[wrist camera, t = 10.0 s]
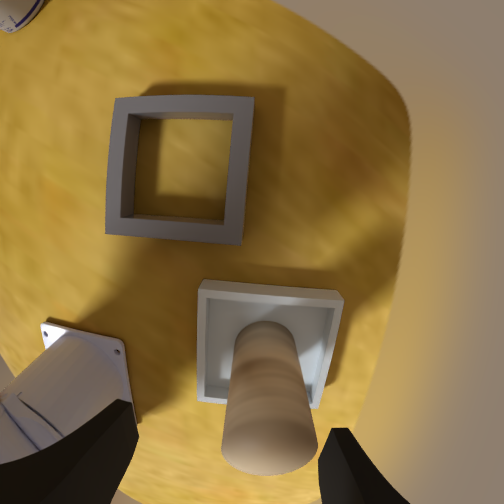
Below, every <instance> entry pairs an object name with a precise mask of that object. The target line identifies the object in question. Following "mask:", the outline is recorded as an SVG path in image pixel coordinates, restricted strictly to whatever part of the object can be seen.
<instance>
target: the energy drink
mask: <svg viewBox="0 0 504 504" xmlns="http://www.w3.org/2000/svg"><path fill="white" fill-rule="evenodd" d="M43 3H44V0H0V29H1V30H3V31H5V32H8V33H12V32H15V31H18V30H19V29H21V28H23V27H24V26H25V25H27V24H28V23H29V22H30V21H31V20H32V19H33V18H34V16H35V15H36V14H37V13H38V11H39V10H40V8H41V6H42V4H43Z"/></svg>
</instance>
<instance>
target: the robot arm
mask: <svg viewBox="0 0 504 504" xmlns="http://www.w3.org/2000/svg"><path fill="white" fill-rule="evenodd" d="M41 331H42V335H43V340H44V344H45V348H46V350H45V351H44V352H43V353H42V354H41V355H40V356H39V357H37V358H36V359H35V360H34V361H33V362H32V363H31V364H30V365H29V366H28V367H27V368H26V369H25V370H24V371H22V372H21V373H20V374H19V375H18V376H17V377H16V378H15V379H14V380H13V381H12V382H11V383H10V384H9V385H8V386H7V387H6V388H5V389H4V390H3V391H2V392H1V393H0V504H110V503H111V501H112V498H113V496H114V494H115V492H116V490H117V488H118V486H119V484H120V482H121V480H122V478H123V476H124V474H125V472H126V470H127V468H128V466H129V464H130V462H131V459H132V457H133V454H134V451H135V448H136V445H137V442H138V439H139V434H138V430H137V421H136V416H135V411H134V405H133V400H132V394H131V389H130V383H129V376H128V370H127V363H126V355H125V347H124V343H123V342H122V341H121V340H120V339H117V338H112V337H107V336H102V335H98V334H93V333H89V332H85V331H80V330H76V329H72V328H68V327H64V326H60V325H56V324H53V323H49V322H43V323H42V324H41ZM46 332H47V333H48V334H47V333H46ZM116 349H117V350H119V351H120V353H119V352H118V351H117V350H116ZM318 474H319V487H320V493H321V499H322V504H410V503H409V502H408V501H407V500H406V499H404V498H403V497H402V496H401V495H400V494H399V493H398V492H397V491H396V490H395V489H394V488H393V487H392V485H391V484H390V483H389V482H388V481H387V480H386V479H385V478H384V477H383V475H382V474H381V473H380V472H379V470H378V469H377V468H376V466H375V465H374V464H373V463H372V461H371V460H370V459H369V457H368V456H367V455H366V453H365V452H364V450H363V449H362V448H361V446H360V445H359V443H358V442H357V440H356V439H355V437H354V436H353V434H352V433H351V431H350V430H349V429H348V428H331V431H330V433H329V436H328V438H327V441H326V443H325V445H324V448H323V450H322V452H321V454H320V457H319V459H318Z"/></svg>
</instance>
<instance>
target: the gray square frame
mask: <svg viewBox="0 0 504 504" xmlns="http://www.w3.org/2000/svg"><path fill="white" fill-rule="evenodd" d="M254 110H255V97H242V96H223V95H158V96H139V97H125V98H115V104H114V111H113V118H112V126H111V135H110V145H109V155H108V168H107V185H106V216H105V234H112V235H124V236H136V237H148V238H159V239H171V240H183V241H194V242H205V243H217V244H228V245H239V246H241V244H242V240H243V232H244V220H245V208H246V197H247V186H248V174H249V163H250V152H251V142H252V131H253V120H254ZM144 119H208V120H230V121H233V126H232V136H231V146H230V157H229V168H228V180H227V192H226V204H225V217H224V220H213V219H200V218H187V217H173V216H158V215H143V214H134V191H135V174H136V161H137V149H138V139H139V130H140V122H141V120H144Z"/></svg>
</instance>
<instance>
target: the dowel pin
mask: <svg viewBox="0 0 504 504" xmlns="http://www.w3.org/2000/svg"><path fill="white" fill-rule="evenodd" d="M317 448H318V442H317V437H316V432H315V428H314V423H313V419H312V414H311V410H310V405H309V401H308V396H307V392H306V388H305V383H304V379H303V374H302V370H301V366H300V362H299V357H298V353H297V349H296V344H295V340H294V337H293V335H292V333H291V332H290V331H289V330H288V329H287V328H286V327H285V326H283V325H281V324H279V323H277V322H273V321H258V322H254V323H251V324H249V325H248V326H246V327H245V328H243V329H242V330H241V331H240V333H239V334H238V336H237V338H236V340H235V345H234V353H233V361H232V368H231V376H230V384H229V391H228V399H227V407H226V415H225V423H224V431H223V439H222V446H221V451H222V455H223V457H224V459H225V460H226V461H227V462H228V463H229V464H230V465H231V466H233V467H234V468H236V469H238V470H240V471H242V472H245V473H249V474H253V475H262V476H272V475H280V474H285V473H289V472H292V471H294V470H297V469H299V468H301V467H303V466H304V465H306V464H307V463H308V462H309V461H310V460H311V459H312V458H313V457H314V455H315V454H316V452H317Z"/></svg>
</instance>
